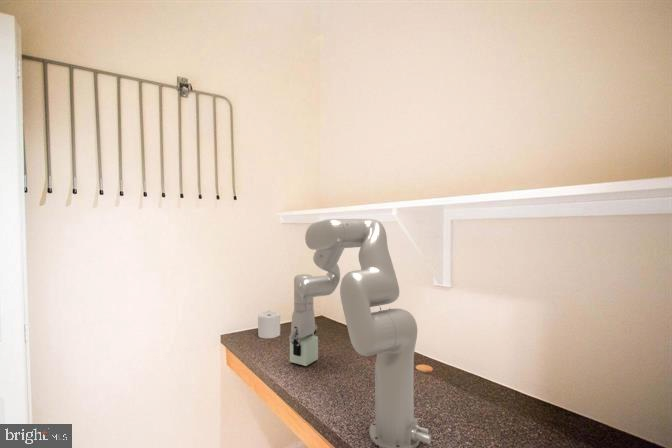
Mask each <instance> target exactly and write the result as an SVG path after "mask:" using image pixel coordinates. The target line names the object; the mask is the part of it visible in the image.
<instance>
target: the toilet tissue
mask: <svg viewBox="0 0 672 448" xmlns="http://www.w3.org/2000/svg"><path fill="white" fill-rule="evenodd" d="M257 336H258V338H260V339H275V338H277V337H280V336H281V313H280V312H277V311H271V310H267V311H264V312H261V313H259V314H258V316H257Z"/></svg>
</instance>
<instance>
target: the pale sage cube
mask: <svg viewBox="0 0 672 448" xmlns="http://www.w3.org/2000/svg"><path fill="white" fill-rule="evenodd" d="M297 336H298V337H299V335H297ZM296 341H297V342H298V339H296ZM300 345H301V356H296V355H294V354H293V345H292V343H291V341H290V340H289V362H290V363H294V364H297V365H302V366H304V367H307V366H308V365H310V364H313V363H314V362H315V361H317V360H318V359H319V336H317V335H315V336H313V335H308V336H306V337H304V338H302V339H301V341H300Z"/></svg>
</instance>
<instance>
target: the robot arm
mask: <svg viewBox="0 0 672 448" xmlns="http://www.w3.org/2000/svg"><path fill="white" fill-rule="evenodd" d="M304 236H305V237H304V238H305V239H304V240H305V244H306V246H307V248H308V249H310V250H315V252H314V254H313V256H312V257H313V258H312V259H313V262H314V264H315V265H316V266H317V267H318V268H319V269H321V270H322V271H325V272H327V273H326V274H324V275H317V276H315V275H314V276H312V275H311V274H309V273H304V274H296V275H295V276H294V278H293V303H294V304H293V307H294V309H293V312H292V315H291V322H290V323H291V327H290V335H289V336H288V339H289V342H290V341H291V343H292V345H293V354H294V355H296V356H301V345H300V341H301V339H302V338H304V337H306V336H308V335H313V336H316V333H317V329H318V325H317V324H316V320H315V310H314V298H319V297H324V296H325V297H326V296H330V295H332V294H333V293H334V292H335V290H337V287H338V285H339V284H340V286H339V295H340V301H341V306H342V310H343V313H344V318H345V319H344V320H345V323H346V327H347V332H348V336H349V340H350V343H351V346H352V347H353V349H354V351H355V352H356V353H357V354H358V355H360V356H363V357H370V356H375V355H377V356H376V359H375V365H374V396H375V397H374V405H375V406H374V408H375V409H374V411H375V414H374V416H375V417H374V418H375V420H374V421H373V422H372V423H371V424H370V426H369V430H368V431H369V432H368V433H369V438H370V440H371V441H372V443H373V442H374V443H375V445H376V446H377V445H378V446H379V447H378V446H377V447H378V448H380V447H381V448H417V447H418V446H419V444H420V443H424V444H427V445H430V444H431V443H432V442H431V441H432V435H431V434H429V431H430V430H429V428H426V427H421V426H420V425H419V424H418V418H417V417H414V414H415V413H414V411H415V410H414V405H415V403H414V397H415V396H414V395H415V394H414V369H415V368H414V362H415V361H414V359H415V358H414V357H415V350H416V343H417V338H418V325H417V321H416V319H415V316H414V315H413V314H412V313H410V311H408V310H406V309H403V308H390V309H389V308H388V309H384V310H382V309H381V310H377V311H372V310H371V308H373V307H374V308H375V307H379V306H380V307H381V306H384V305H389V304H392V303H394V302H396V301H397V300H398V298H399V297H400V287H399V282H398V279H397V275H396V272H395V268H394V265H393V261H392V257H391V254H390V252H389V248H388V238H387V237H388V236H387V232H386V229H385V226H384V225H383V224H382V223H381V221H379V220H377V219H374V218H373V219H372V218H329V219H324V220H320V221H317V222H313V223H311V224H310V225H309V226H308V227H307V229H306V231H305V234H304ZM353 248H359V250H358V251H359V252H358V262H359V266H360V269H359V270H358V269H357V270H356V269H355V270H352V271H349V272H347V273H345V275H343V277H342V278H341V269H340V267H339V264H338V262H339V261H340V257H341V256H342V254H343V252H344V250H345V249H353ZM340 281H341V282H340ZM297 335H299V337H298V336H297ZM296 339H298V342H297V341H296Z"/></svg>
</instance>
